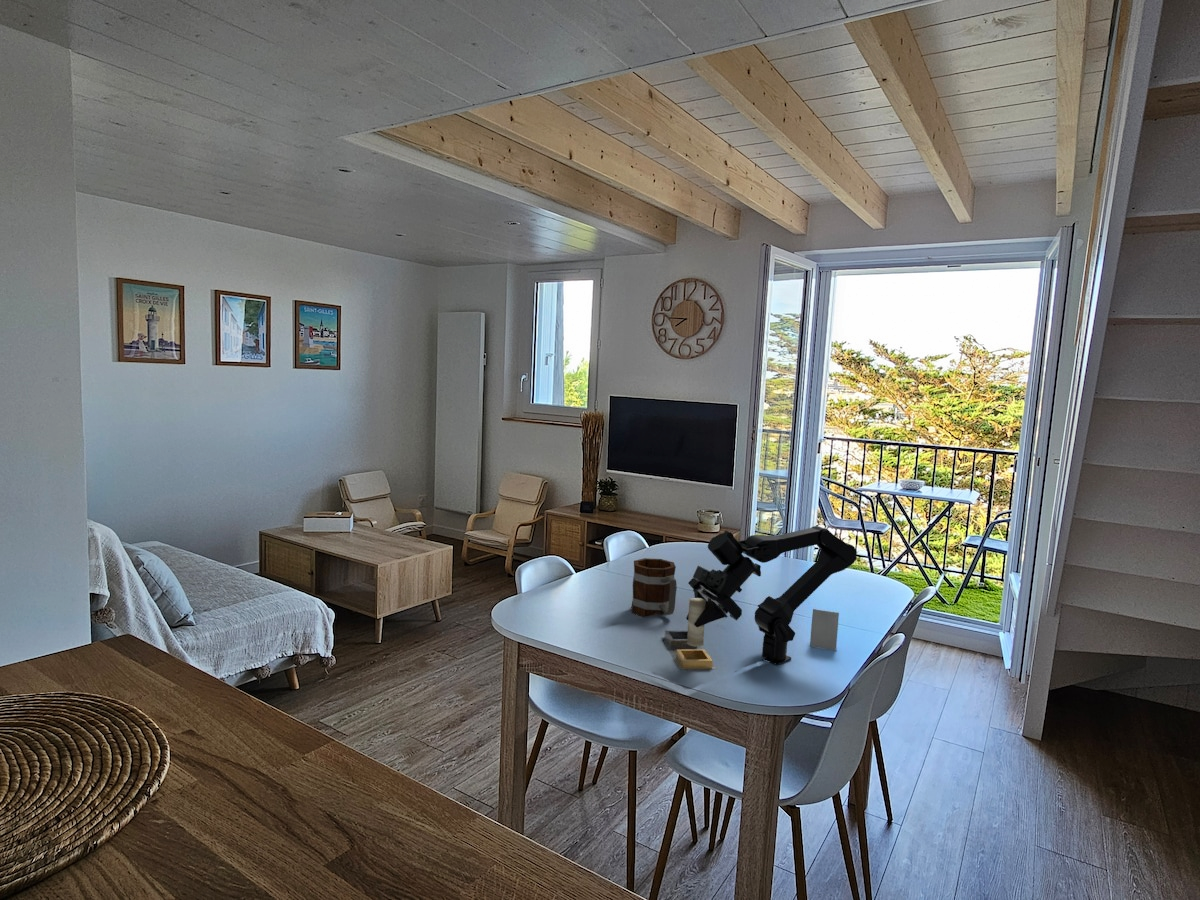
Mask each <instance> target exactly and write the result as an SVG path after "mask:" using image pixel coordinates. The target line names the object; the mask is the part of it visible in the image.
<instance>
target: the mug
mask: <svg viewBox="0 0 1200 900" xmlns="http://www.w3.org/2000/svg"><path fill="white" fill-rule="evenodd" d="M676 568H677V566H676V564H675V562H674V561H670V560H666V559H662V558H649V557H648V558H646V557H644V558H641V559H636V560H635V559H634V560H633V579H632V601H631V602H632V603H631V606H630V607H631V608H632V609H631V613H632V614H633V613H634V614H633V615H636V614H637V615H636V616H638V617H641V616H642V617H641V618H646V617H651V616H655V615H666V616H669V615H670V616H671V615H673V614H674V612H675V609H676V608H675V607H676V598H677V597H676V596H677V588H678V587H677V580H676V578H675V573H676Z"/></svg>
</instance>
